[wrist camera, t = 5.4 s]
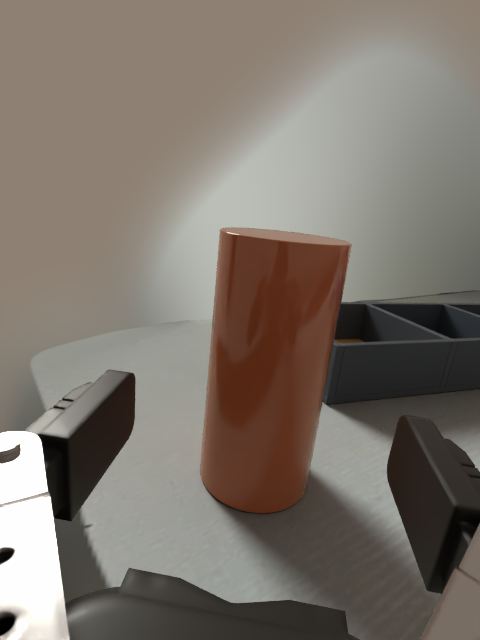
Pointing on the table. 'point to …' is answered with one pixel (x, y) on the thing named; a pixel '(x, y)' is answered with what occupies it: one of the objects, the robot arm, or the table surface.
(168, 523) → the table surface
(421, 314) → the gray storage bin
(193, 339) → the table surface
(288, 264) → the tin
